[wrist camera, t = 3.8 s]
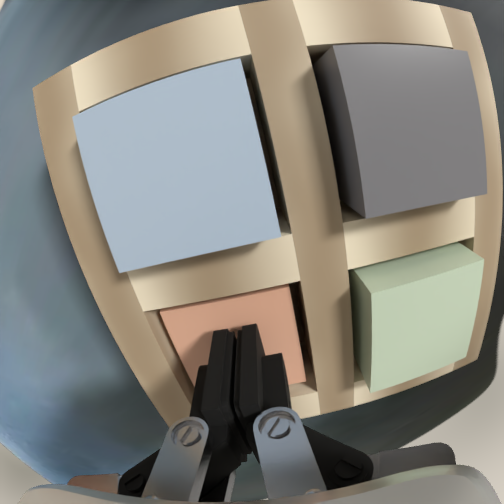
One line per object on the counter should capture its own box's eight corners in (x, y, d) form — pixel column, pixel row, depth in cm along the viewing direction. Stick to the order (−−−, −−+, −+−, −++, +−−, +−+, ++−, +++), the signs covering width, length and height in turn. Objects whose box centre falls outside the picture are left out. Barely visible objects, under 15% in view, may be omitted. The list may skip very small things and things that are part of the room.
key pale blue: (241, 79, 9) (240, 58, 7) (272, 211, 11) (281, 237, 8) (112, 119, 10) (72, 117, 7) (147, 240, 11) (119, 273, 9)
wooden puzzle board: (419, 35, 11) (470, 12, 6) (441, 317, 17) (477, 359, 12) (88, 96, 12) (32, 88, 7) (185, 376, 18) (173, 433, 13)
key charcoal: (423, 63, 9) (467, 51, 6) (442, 179, 11) (487, 194, 8) (310, 67, 9) (332, 45, 6) (337, 197, 11) (366, 218, 8)
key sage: (444, 233, 12) (484, 259, 9) (437, 322, 13) (465, 357, 11) (344, 257, 12) (371, 293, 9) (351, 349, 14) (370, 393, 11)
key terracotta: (280, 255, 14) (289, 286, 11) (297, 341, 15) (306, 381, 13) (175, 278, 14) (159, 312, 11) (206, 357, 16) (200, 397, 13)
